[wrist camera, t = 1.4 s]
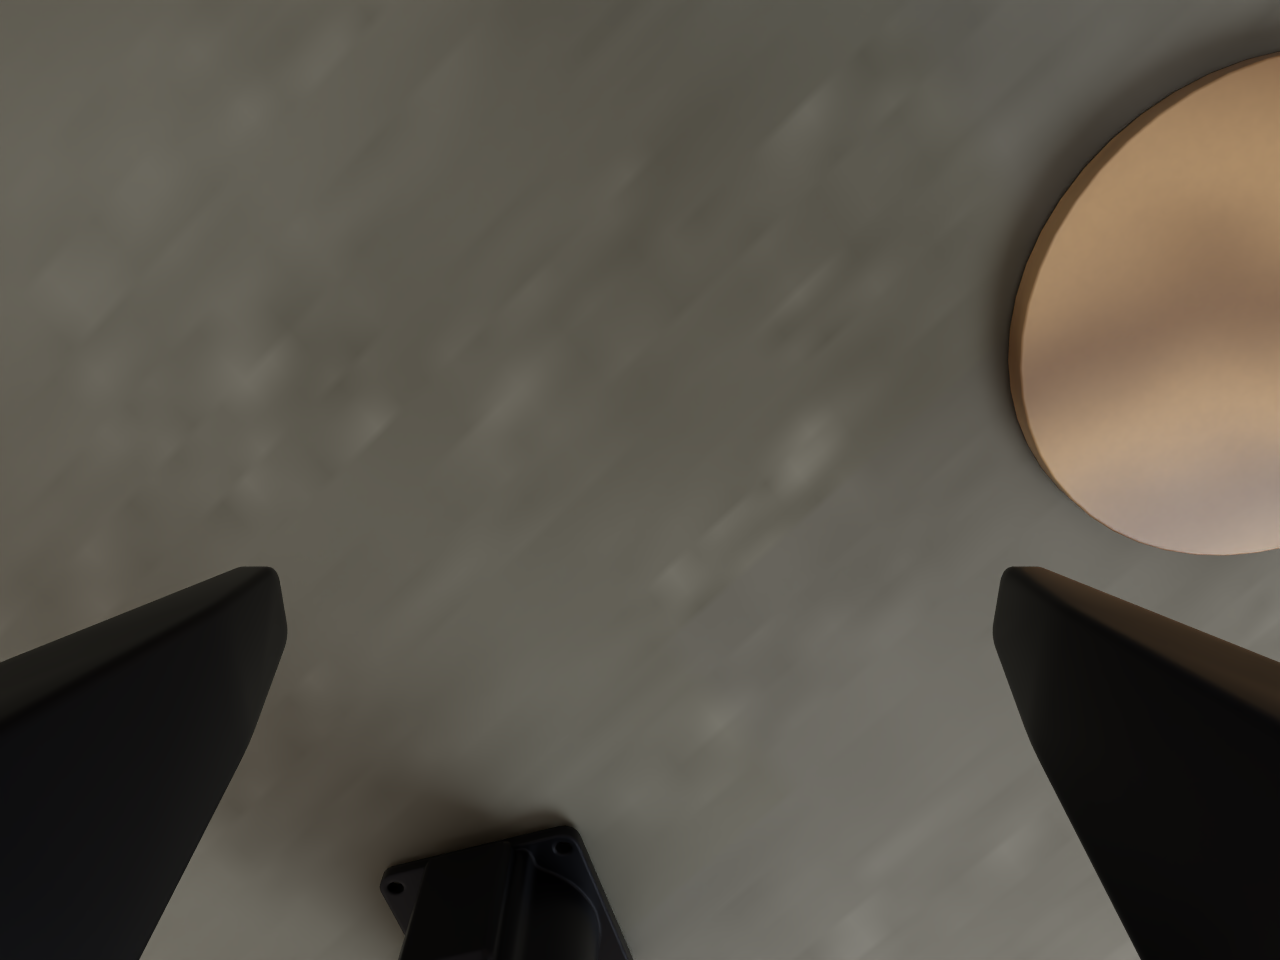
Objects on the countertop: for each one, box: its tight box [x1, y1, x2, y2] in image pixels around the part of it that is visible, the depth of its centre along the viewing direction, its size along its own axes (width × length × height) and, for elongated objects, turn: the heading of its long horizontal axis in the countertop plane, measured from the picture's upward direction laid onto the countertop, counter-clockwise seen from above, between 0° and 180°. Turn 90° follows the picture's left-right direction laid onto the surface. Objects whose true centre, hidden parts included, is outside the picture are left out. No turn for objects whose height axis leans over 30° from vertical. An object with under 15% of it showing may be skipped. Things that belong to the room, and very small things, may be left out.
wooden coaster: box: [1008, 52, 1280, 555], centre depth 22 cm, size 12×12×1 cm
